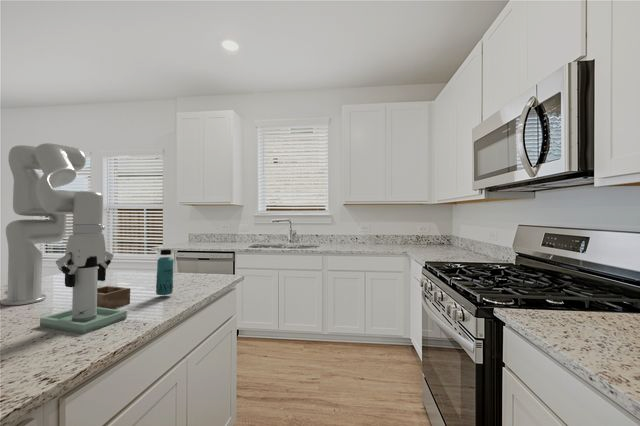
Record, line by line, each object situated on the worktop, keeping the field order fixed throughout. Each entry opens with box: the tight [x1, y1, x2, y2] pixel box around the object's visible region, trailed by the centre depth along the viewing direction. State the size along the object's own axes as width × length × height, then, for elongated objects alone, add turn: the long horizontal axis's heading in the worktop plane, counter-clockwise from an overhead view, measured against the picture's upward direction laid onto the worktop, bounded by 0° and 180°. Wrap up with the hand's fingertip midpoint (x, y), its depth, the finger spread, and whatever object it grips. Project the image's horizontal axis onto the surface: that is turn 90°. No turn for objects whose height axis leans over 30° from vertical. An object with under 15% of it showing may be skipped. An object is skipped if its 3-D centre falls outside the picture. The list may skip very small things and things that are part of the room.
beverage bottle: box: [155, 248, 175, 296], centre depth 130 cm, size 6×7×20 cm
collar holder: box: [97, 285, 131, 309], centre depth 115 cm, size 11×10×6 cm
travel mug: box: [71, 256, 99, 322], centre depth 98 cm, size 6×7×20 cm
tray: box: [39, 307, 128, 335], centre depth 98 cm, size 18×14×2 cm
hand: (86, 283), depth 98 cm, fingers open, 9 cm apart
